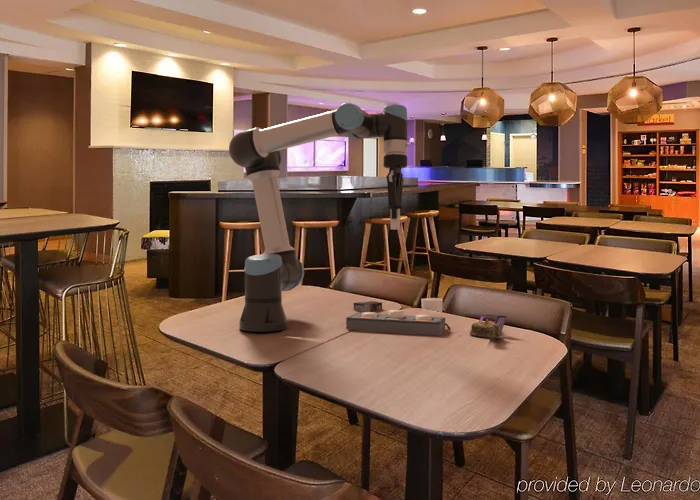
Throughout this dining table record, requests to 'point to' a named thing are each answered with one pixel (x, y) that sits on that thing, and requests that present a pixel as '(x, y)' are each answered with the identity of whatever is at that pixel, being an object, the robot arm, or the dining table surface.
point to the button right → (424, 317)
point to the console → (396, 324)
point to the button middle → (396, 314)
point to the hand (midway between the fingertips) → (395, 229)
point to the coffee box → (367, 306)
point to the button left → (369, 314)
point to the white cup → (432, 304)
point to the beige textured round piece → (485, 329)
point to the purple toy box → (499, 320)
